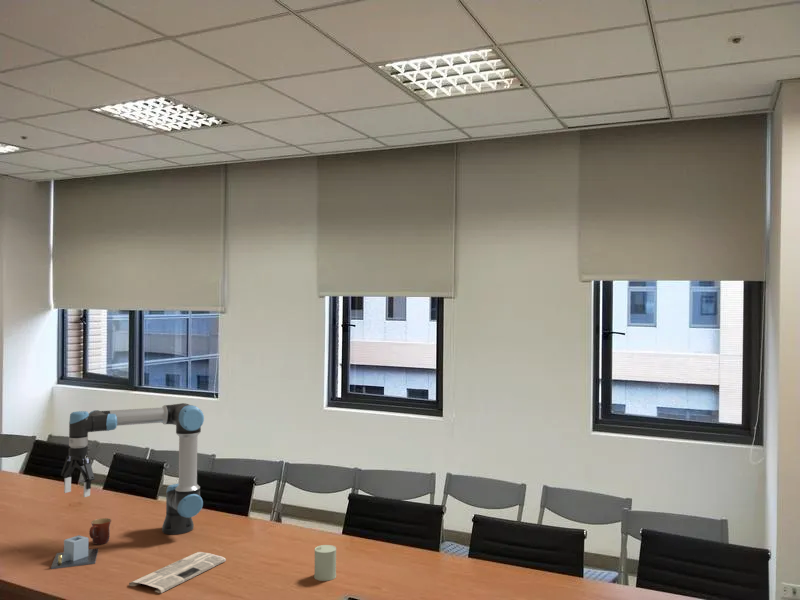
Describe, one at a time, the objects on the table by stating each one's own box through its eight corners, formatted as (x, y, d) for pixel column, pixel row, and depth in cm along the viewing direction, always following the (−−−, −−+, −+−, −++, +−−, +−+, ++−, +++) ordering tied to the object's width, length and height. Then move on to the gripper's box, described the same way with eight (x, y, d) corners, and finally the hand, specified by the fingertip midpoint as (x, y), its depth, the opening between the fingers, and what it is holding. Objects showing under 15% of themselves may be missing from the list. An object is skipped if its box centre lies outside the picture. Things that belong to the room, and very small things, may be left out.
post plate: (98, 550, 289) (98, 536, 289) (95, 563, 273) (95, 548, 274) (56, 555, 283) (57, 540, 283) (51, 569, 267) (51, 553, 267)
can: (314, 572, 265) (314, 543, 265) (336, 571, 266) (336, 543, 266) (313, 581, 256) (313, 551, 256) (336, 580, 257) (336, 551, 257)
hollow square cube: (78, 553, 283) (78, 535, 283) (88, 555, 280) (88, 537, 280) (53, 561, 273) (54, 543, 273) (63, 564, 270) (64, 545, 270)
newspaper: (161, 595, 243) (161, 588, 243) (125, 586, 251) (126, 579, 251) (225, 563, 276) (225, 556, 276) (192, 555, 285) (192, 549, 285)
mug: (98, 538, 305) (99, 517, 305) (114, 540, 303) (115, 518, 303) (81, 547, 293) (82, 525, 293) (98, 549, 291) (98, 526, 291)
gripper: (53, 445, 283) (51, 492, 282) (88, 450, 271) (87, 500, 270) (68, 442, 289) (67, 488, 288) (103, 447, 277) (102, 496, 277)
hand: (77, 494), depth 279 cm, fingers open, 13 cm apart
